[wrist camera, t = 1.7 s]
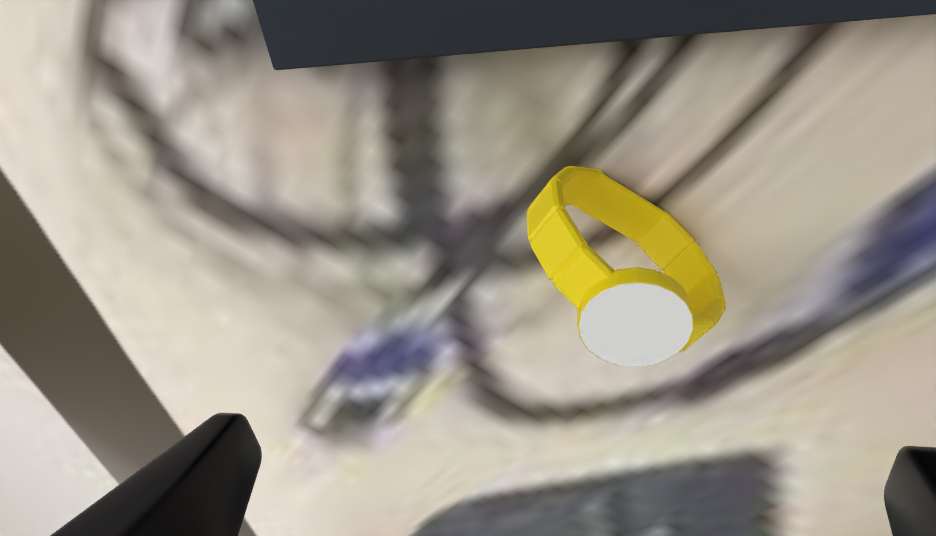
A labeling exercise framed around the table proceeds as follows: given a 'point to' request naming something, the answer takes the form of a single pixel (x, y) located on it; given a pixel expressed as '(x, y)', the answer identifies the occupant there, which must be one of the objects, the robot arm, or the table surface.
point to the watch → (624, 271)
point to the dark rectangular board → (524, 24)
